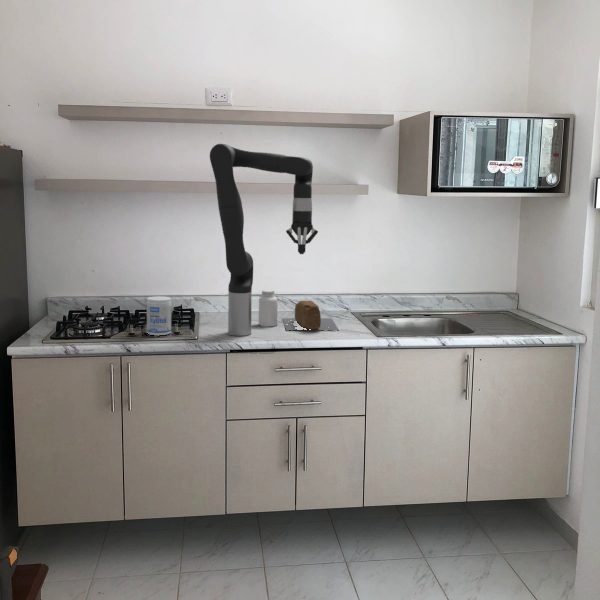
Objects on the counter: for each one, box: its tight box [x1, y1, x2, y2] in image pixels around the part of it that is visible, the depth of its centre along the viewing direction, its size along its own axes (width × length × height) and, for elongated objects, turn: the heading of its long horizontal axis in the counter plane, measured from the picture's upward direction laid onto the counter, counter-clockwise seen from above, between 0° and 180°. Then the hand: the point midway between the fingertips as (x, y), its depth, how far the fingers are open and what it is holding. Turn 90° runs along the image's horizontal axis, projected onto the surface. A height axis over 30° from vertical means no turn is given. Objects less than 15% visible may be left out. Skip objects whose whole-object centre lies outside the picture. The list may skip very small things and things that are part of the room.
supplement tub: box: [146, 295, 172, 336], centre depth 295 cm, size 10×10×15 cm
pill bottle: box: [258, 289, 278, 328], centre depth 316 cm, size 8×8×15 cm
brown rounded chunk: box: [294, 300, 322, 329], centre depth 314 cm, size 11×8×20 cm
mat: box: [282, 317, 340, 332], centre depth 319 cm, size 22×24×1 cm
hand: (301, 253), depth 292 cm, fingers closed
